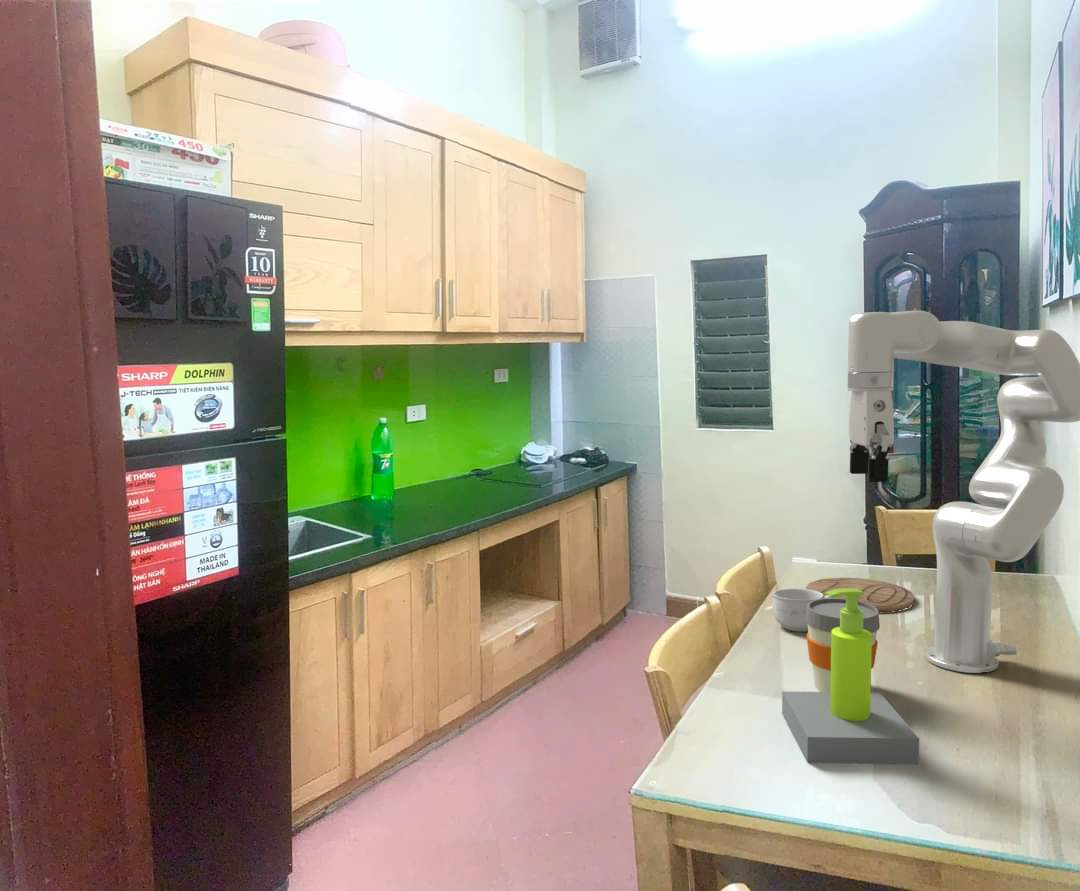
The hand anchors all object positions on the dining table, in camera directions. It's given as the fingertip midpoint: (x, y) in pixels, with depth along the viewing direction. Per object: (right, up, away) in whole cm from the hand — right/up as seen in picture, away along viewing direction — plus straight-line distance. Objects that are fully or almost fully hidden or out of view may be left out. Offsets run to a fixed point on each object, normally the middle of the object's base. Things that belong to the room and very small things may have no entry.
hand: (868, 477), depth 140 cm
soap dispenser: (-11, -37, -17) cm, 42 cm away
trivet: (+21, -33, +54) cm, 67 cm away
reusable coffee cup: (-4, -39, +2) cm, 39 cm away
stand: (-11, -41, -17) cm, 45 cm away
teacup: (0, -35, +33) cm, 48 cm away
